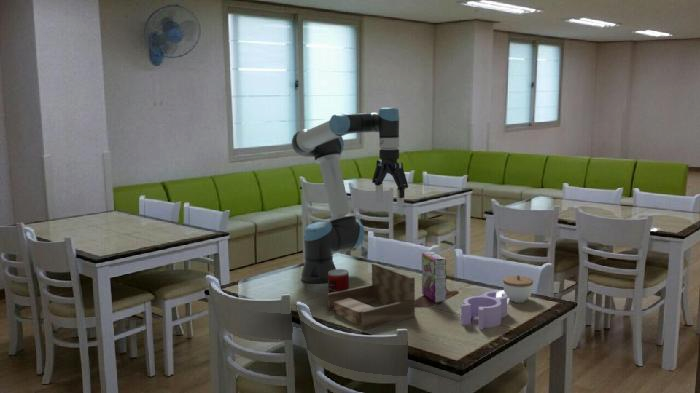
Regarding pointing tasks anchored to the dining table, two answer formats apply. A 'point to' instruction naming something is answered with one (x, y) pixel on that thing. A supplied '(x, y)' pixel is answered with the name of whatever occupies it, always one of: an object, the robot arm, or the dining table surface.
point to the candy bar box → (434, 276)
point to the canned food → (338, 280)
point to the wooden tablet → (427, 302)
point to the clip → (484, 309)
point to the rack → (382, 297)
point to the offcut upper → (351, 307)
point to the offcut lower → (349, 317)
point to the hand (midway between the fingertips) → (389, 204)
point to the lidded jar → (518, 288)
